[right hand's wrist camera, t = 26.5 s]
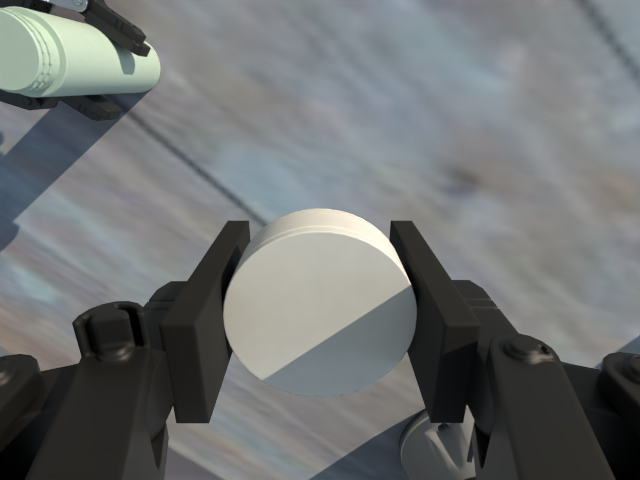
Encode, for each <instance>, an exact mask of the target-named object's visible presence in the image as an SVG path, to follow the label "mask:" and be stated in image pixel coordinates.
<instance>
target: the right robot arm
mask: <svg viewBox="0 0 640 480" xmlns="http://www.w3.org/2000/svg"><path fill="white" fill-rule="evenodd" d="M389 242H390V243H391V244H392V246H393V247H394V249H395V251H396V253H397V255H398V257H399V259H400V261H401V263H402V265H403V268H404V270H405V272H406V274H407V276H408V278H409V281H410V283H411V285H412V288H413V291H414V294H415V297H416V303H417V319H416V328H415V333H414V337H413V340H412V342H411V344H410V346H409V348H408V350H407V352H408V355H409V358H410V361H411V364H412V367H413V370H414V373H415V376H416V379H417V383H418V386H419V389H420V392H421V395H422V398H423V401H424V404H425V407H426V410H425V411H423V412H422V413H420V414H419V415H418V416H416V417H415V418H414V419H413V420H412V421H411V422H410V423H409V424H408V426H407V427H406V428H405V430H404V432H403V434H402V436H401V439H400V444H399V453H400V458H401V462H402V466H403V469H404V471H405V474H406V476H407V478H408V480H640V355H637V354H630V353H622V352H619V353H611V354H608V355H607V356H606V357H604V358H603V361H602V364H601V367H600V370H598V369H593V368H588V367H583V366H578V365H573V364H568V363H564V362H561V361H560V359H559V357H558V355H557V354H556V353H555V352H554V350H553V349H552V348H551V347H549V346H548V345H546V344H545V343H544V342H542V341H540V340H538V339H535V338H533V337H531V336H527V335H523V334H519V333H518V332H517V331H516V329H515V328H514V327H513V326H512V324H511V323H510V322H509V321H508V319H507V318H506V317H505V316H504V314H503V313H502V312H501V311H500V309H498V308H497V306H496V304H495V303H494V302H493V301H491V298H490V297H489V296H488V294H487V293H486V292H485V291H484V289H483V288H481V287H479V286H478V285H476V284H475V283H473V282H471V281H470V280H451V278H450V277H449V275H448V274H447V272H446V271H445V270H444V268H443V267H442V265H441V264H440V262H439V261H438V259H437V258H436V256H435V255H434V253H433V252H432V250H431V249H430V247H429V246H428V244H427V243H426V241H425V240H424V238H423V237H422V235H421V234H420V232H419V231H418V229H417V228H416V226H415V225H414V223H413V222H412V221H391V227H390V241H389ZM249 243H250V230H249V221H228V222H227V223H226V225H225V226H224V228H223V229H222V231H221V232H220V233H219V235H218V236H217V238H216V239H215V241H214V242H213V244H212V245H211V247H210V248H209V250H208V251H207V253H206V254H205V256H204V257H203V259H202V260H201V262H200V263H199V265H198V266H197V268H196V269H195V271H194V272H193V274H192V275H191V277H190V278H189V279H188V281H171V282H169V283H167V284H166V285H164V286H163V287H161V288H159V289H158V290H157V291H156V292H155V293H154V294H153V296H152V297H151V298H150V299H149V302H147V303H146V305H145V306H144V307H142V306H141V305H139V304H138V303H134V302H130V301H118V302H111V303H107V304H102V305H99V306H97V307H94V308H91V309H89V310H87V311H86V312H84V313H82V314H81V315H79V316H78V317H77V318H76V319H75V320H74V321H73V323H72V324H73V328H74V331H75V335H76V338H77V342H78V346H79V349H80V353H81V356H82V358H81V360H80V362H79V363H78V364H74V365H70V366H66V367H61V368H56V369H51V370H46V371H40V368H39V365H38V362H37V360H36V359H35V358H34V357H32V356H31V355H23V354H17V355H9V356H3V357H0V480H164V475H165V466H166V457H167V448H168V439H169V436H168V430H167V425H166V420H167V418H168V415H169V413H170V411H171V409H172V407H174V412H175V418H176V423H209V422H210V418H211V415H212V412H213V409H214V406H215V403H216V400H217V397H218V394H219V391H220V388H221V385H222V382H223V379H224V376H225V373H226V370H227V367H228V363H229V360H230V357H231V354H232V351H233V350H232V348H231V347H230V345H229V342H228V339H227V337H226V334H225V329H224V321H223V302H224V298H225V294H226V291H227V288H228V286H229V283H230V281H231V279H232V276H233V274H234V272H235V270H236V268H237V265H238V263H239V261H240V259H241V257H242V254H243V252H244V251H245V249H246V247H247V246H248V244H249Z"/></svg>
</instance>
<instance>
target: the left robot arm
mask: <svg viewBox="0 0 640 480" xmlns="http://www.w3.org/2000/svg"><path fill="white" fill-rule="evenodd" d="M52 4H55V5H59V6H62V7H65V8H68V9H71V10H74V11H78V12H79V13H80V14H82V15H83V16H85V20H84V21H85V22H87V23H88V24H90V25H91V26H93V27H94V28H96V29H98V30H99V31H100V32H102V33H103V34H105V35H106V36H108V37H109V38H111V39H112V40H114V41H115V42H117V43H118V44H120V45H121V46H123V47H124V48H126V49H127V50H129V51H130V52H132V53H133V54H135V55H138V56H142V57H147V56H148V54H149V52H150V49H151V48H150V47H149V46H148V45H146V44H145V43H144V41H145V38H146V36H145V35H144V33H143V32H142V31H141V29H139V28H138V27H136V26H135V25H133V24H132V23H130V22H129V21H127V20H126V19H125V18H123V17H122V16H120V15H119V14H117V13H116V12H114V11H113V10H112V9H110V8H109V7H108V6H107V5H106V4H105V2H104V0H0V8H5V7H14V6H15V7H22V8H27V9H30V10H34V11H38V12H42V13H46V14H49V12H50V9H51V7H52ZM59 100H61V101H63V102H64V103H66V104H67V105H69V106H71V107H72V108H74V109H75V110H77V111H79V112H80V113H82V114H84V115H85V116H87V117H88V118H90V119H93V120H97V121H100V120H106V119H108V120H110V119H116V118H118V117H119V115H120V113H121V111H122V109H121V108H120V107H118V106H117V105H115V104H114V103H112V102H111V101H109V100H108V99H106V98H104V97H103V96H101V95H100V94H99V95H77V96H55V97H29V96H25V95H22V94H20V93H12V92H7V91H4V90H2V89H0V101H2V102H5V103H8V104H11V105H14V106H17V107H20V108H23V109H27V110H38V109H49V108H55V107H56V106H57V104H58V101H59Z"/></svg>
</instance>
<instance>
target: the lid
mask: <svg viewBox="0 0 640 480" xmlns="http://www.w3.org/2000/svg"><path fill="white" fill-rule="evenodd" d="M416 319H417V303H416V297H415V294H414V291H413V288H412V285H411V283H410V281H409V278H408V276H407V274H406V272H405V270H404V268H403V265H402V263H401V261H400V259H399V257H398V255H397V253H396V251H395V249H394V247H393V246H392V244H391V243H390V242H389V240H388V239H387V238H386V237H385V236H384V235H383V234H382V232H381V231H379V230H378V229H377V228H376V227H374V226H373V225H372V224H370V223H369V222H367V221H365V220H364V219H362V218H360V217H357V216H355V215H353V214H350V213H346V212H343V211H339V210H332V209H308V210H302V211H297V212H293V213H290V214H288V215H285V216H282V217H280V218H278V219H277V220H275V221H273V222H271V223H270V224H268V225H267V226H266V227H264V228H263V229H262V230H261V231H260V232H259V233H257V234H256V235H255V237H254V238H253V239H252V240H251V241H250V243H249V244H248V246H247V247H246V249H245V251H244V252H243V254H242V257H241V259H240V261H239V263H238V265H237V268H236V270H235V272H234V274H233V276H232V279H231V281H230V283H229V286H228V288H227V291H226V294H225V298H224V302H223V321H224V329H225V334H226V337H227V339H228V342H229V345H230V347H231V348H232V350H233V352H234V354H235V355H236V357H237V358H238V359H239V361H240V362H241V363H242V364H243V365H244V366H245V367H246V368H247V369H248V370H249V371H250V372H251V373H252V374H253V375H255V376H256V377H257V378H258V379H260V380H262V381H263V382H265V383H266V384H268V385H270V386H272V387H274V388H277V389H279V390H282V391H285V392H288V393H291V394H296V395H300V396H308V397H333V396H339V395H345V394H349V393H352V392H355V391H358V390H361V389H363V388H366V387H368V386H370V385H372V384H373V383H375V382H377V381H378V380H380V379H381V378H383V377H384V376H386V375H387V374H388V373H389V372H390V371H391V370H392V369H393V368H395V366H396V365H397V364H398V363H399V362H400V361H401V359H402V358H403V357H404V355H405V353H406V352H407V350H408V348H409V346H410V344H411V342H412V340H413V337H414V333H415V328H416Z"/></svg>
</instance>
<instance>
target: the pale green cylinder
mask: <svg viewBox="0 0 640 480" xmlns="http://www.w3.org/2000/svg"><path fill="white" fill-rule="evenodd" d="M144 43H145V44H146V45H148V46H149V47H150V48H151V49H150V52H149V54H148V56H147V57H142V56H138V55H135V54H133V53H132V52H130V51H129V50H127V49H126V48H124V47H123V46H121V45H120V44H118V43H117V42H115V41H114V40H112V39H111V38H109V37H108V36H106V35H105V34H103V33H102V32H100V31H99V30H98V29H96V28H94V27H93V26H91V25H88V24H84V23H81V22H77V21H73V20H69V19H65V18H61V17H57V16H54V15H50V14H46V13H42V12H38V11H34V10H30V9H27V8H22V7H15V6H14V7H5V8H0V89H2V90H4V91H7V92H12V93H20V94H22V95H25V96H29V97H55V96H77V95H99V94H120V93H142V92H146V91H148V90H150V89H152V88H153V87H154V86H155V85H156V83H157V81H158V79H159V76H160V62H159V59H158V56H157V54H156V52H155V51H154V49H153V48H152V47H151V46H150V45H149V44H148V43H147V42H146V41H144Z"/></svg>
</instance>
